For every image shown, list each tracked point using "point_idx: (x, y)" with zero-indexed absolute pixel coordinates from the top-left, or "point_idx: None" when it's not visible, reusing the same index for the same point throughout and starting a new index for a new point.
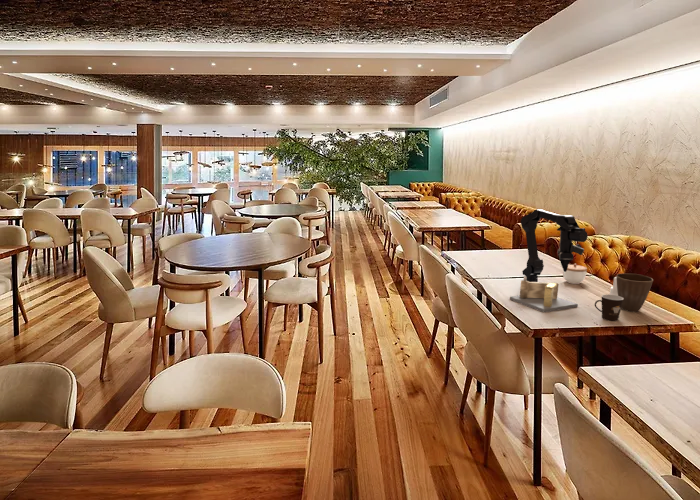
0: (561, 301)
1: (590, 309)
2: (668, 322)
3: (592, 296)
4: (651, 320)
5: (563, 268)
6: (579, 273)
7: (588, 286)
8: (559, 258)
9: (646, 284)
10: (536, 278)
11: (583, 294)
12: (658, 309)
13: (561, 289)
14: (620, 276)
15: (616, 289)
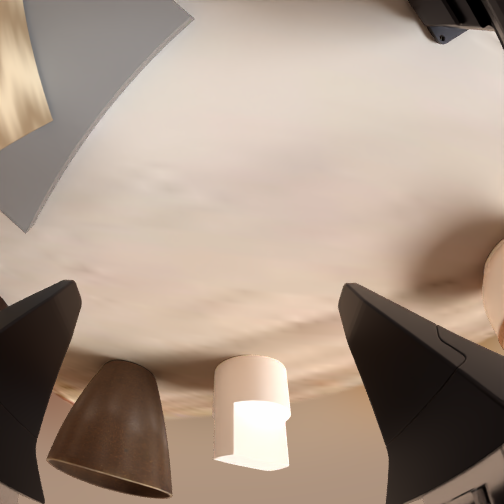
0: (14, 157)
1: (35, 269)
2: (75, 399)
3: (271, 309)
4: (62, 381)
5: (32, 302)
6: (497, 316)
7: (444, 306)
8: (458, 373)
9: (76, 468)
10: (459, 15)
11: (301, 278)
12: (181, 417)
13: (393, 177)
14: (140, 472)
15: (218, 409)
